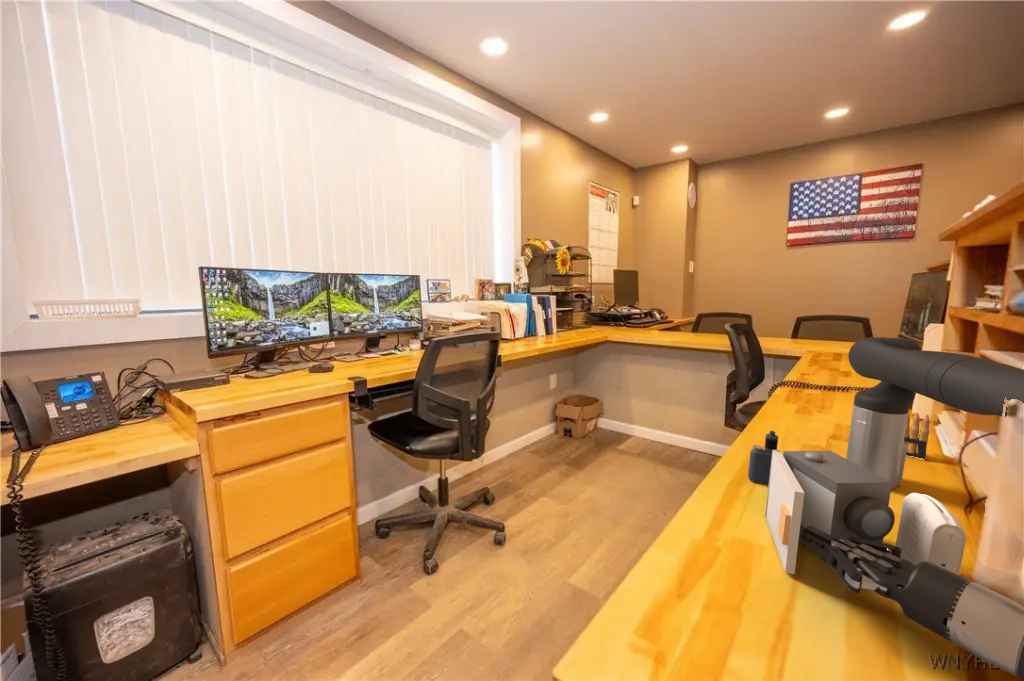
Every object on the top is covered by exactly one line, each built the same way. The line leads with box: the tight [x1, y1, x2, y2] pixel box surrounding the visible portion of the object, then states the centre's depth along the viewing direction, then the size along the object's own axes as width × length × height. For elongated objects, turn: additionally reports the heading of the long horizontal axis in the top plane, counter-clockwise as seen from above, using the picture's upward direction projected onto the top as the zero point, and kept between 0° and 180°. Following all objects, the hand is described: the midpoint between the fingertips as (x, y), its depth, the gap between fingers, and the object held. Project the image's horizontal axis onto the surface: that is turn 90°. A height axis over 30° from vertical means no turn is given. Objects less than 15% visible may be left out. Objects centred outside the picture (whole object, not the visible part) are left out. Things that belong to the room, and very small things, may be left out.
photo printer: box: [895, 492, 967, 576], centre depth 62 cm, size 10×4×12 cm, turn 156°
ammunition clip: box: [904, 411, 930, 460], centre depth 108 cm, size 11×2×12 cm, turn 41°
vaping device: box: [747, 430, 779, 485], centre depth 92 cm, size 3×5×12 cm, turn 78°
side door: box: [764, 449, 804, 575], centre depth 70 cm, size 2×17×14 cm, turn 157°
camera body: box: [782, 450, 896, 565], centre depth 70 cm, size 9×14×15 cm, turn 2°
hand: (805, 532), depth 63 cm, fingers closed
